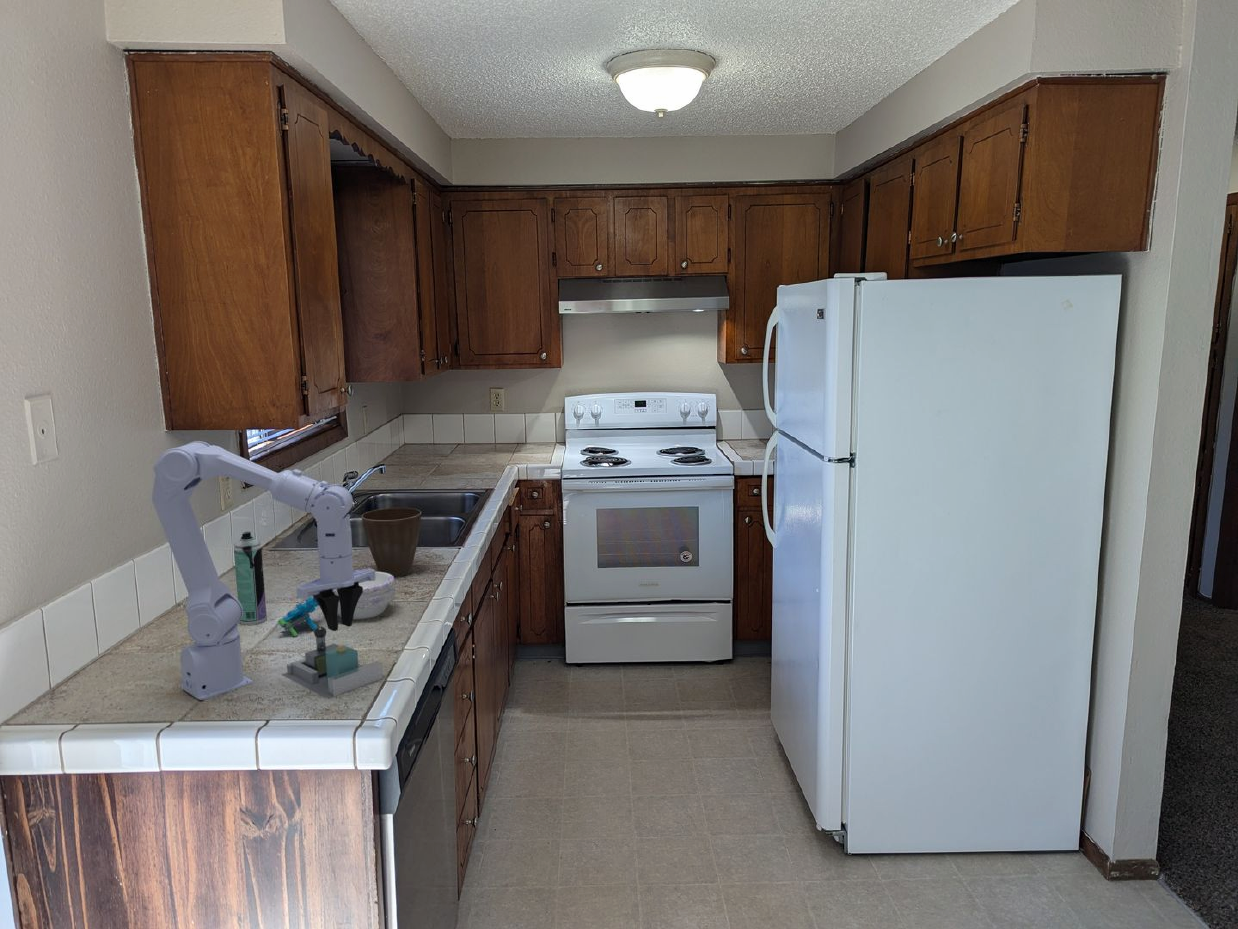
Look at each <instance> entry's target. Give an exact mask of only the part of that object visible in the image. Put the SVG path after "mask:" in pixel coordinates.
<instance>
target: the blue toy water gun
mask: <svg viewBox="0 0 1238 929" xmlns="http://www.w3.org/2000/svg"><path fill="white" fill-rule="evenodd" d="M318 606H319V604H318V603H317V601H316V600H315V599H314V597H313V596H310V597H308V598H307V599H305V603H302V602H300V603H298V604H297V605H296V606H295V609H292V610H289V611H288V612H287V613H286V615H287V616H284V617H281V618H280V619H279V620H277V622H278V624H279V626H280V627H281V628H282V629H283V628H284V629H285V630H289V632H290V633H291V635H293V637H295V638H296V637H298V636H299V634H298V633H297V632H296V630H295V629H294V627H295V626H297V625H298V624H300V623H302V622H304V621H305V623H306V624H307V625H308V626H309V627H310V628H311V630H312V631H313V632H314V631H315V629H316V628H317V627H318V625H316V624H315V623H314V621H313V620H312V618H311V617H310V616H311V614H312V613H313V612H315V611H316V607H318ZM319 607H320V606H319ZM310 613H311V614H310Z"/></svg>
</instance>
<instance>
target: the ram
mask: <svg viewBox="0 0 1238 929" xmlns="http://www.w3.org/2000/svg"><path fill="white" fill-rule="evenodd" d="M327 632H328V631H327V629H326V628H325V627H323V626H317V628H316V629H315V630H314V631H313V633H314V634H313V635H314V637H315V641H316V644H315V645H316V649H314V650H310V651H307V652H305V653H304V656H305V658H304V659H306V666H307V667H309V668H311V669H313V670H315V671H317V672H318V677H319V676H321V675H324V674H327V668H326V652H327V651H330V650H333V649H336V648H337V647H338V646H340V645H338V644H337V643H332V644H328V645H326V644H327V643H326V636H327Z"/></svg>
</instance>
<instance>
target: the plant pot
mask: <svg viewBox="0 0 1238 929" xmlns="http://www.w3.org/2000/svg"><path fill="white" fill-rule="evenodd" d="M421 517H422V511H421V510H419V509H416V508H411V507H389V508H379V509H373V510H371V511H366V512H364V513H363V514H361V521H362V525H363V530H364V533H365V538H366V541H367V543H368V547H369V551H370V553H371V556H372V559H373V561H374V563H375V566H376V567H377V570H378V572H384V573H388V574H391V575H392V576H393V577H394V578H399V577H403V576H407V575H409V574H410V572H411V569H412V567H413V563H414V560H415V555H416V552H417V548H418V542H419V535H420V529H421V520H422V518H421ZM406 574H407V575H406Z"/></svg>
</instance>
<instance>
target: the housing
mask: <svg viewBox="0 0 1238 929" xmlns="http://www.w3.org/2000/svg"><path fill="white" fill-rule="evenodd" d="M358 664H359V655H358V650H356V649H354V648H351V647H349V646H347V645H339V646H338V647H337V648H336V649H333V650H330V651H327V652H326V668H327V681H328V678H330V677H333V676H336V675H339V674H341V673H344V672H347V671H350V670H353V669H356V668H358Z"/></svg>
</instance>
